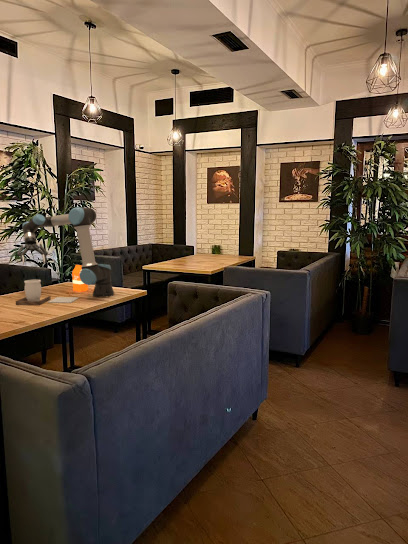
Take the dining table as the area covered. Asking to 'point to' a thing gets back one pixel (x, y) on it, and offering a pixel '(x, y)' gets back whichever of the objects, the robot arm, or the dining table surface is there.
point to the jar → (33, 290)
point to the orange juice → (78, 280)
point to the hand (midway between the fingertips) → (34, 263)
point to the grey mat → (63, 300)
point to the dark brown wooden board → (25, 302)
